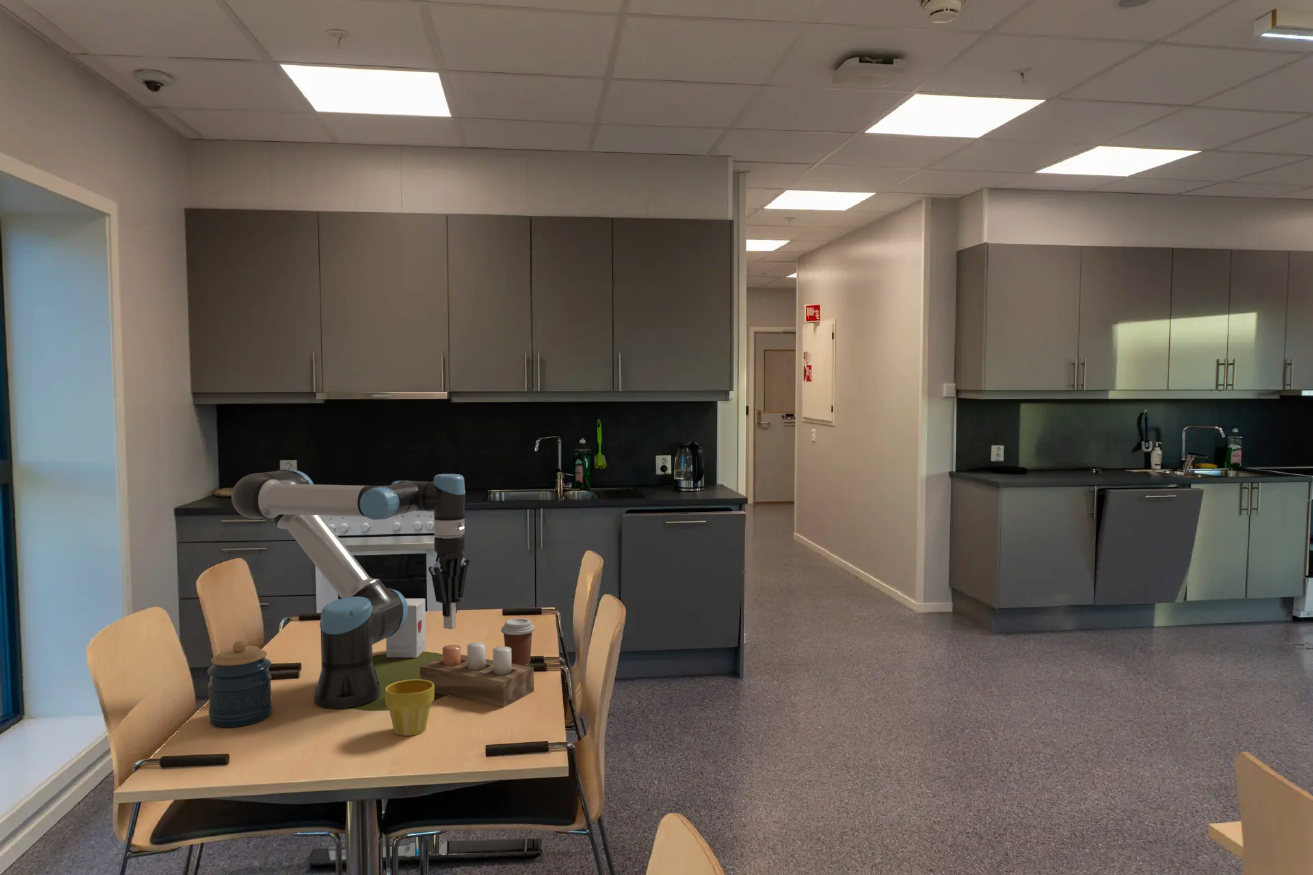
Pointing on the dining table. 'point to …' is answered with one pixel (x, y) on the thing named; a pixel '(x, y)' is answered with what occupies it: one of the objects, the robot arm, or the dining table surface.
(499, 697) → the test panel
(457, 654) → the terracotta plug
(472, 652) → the grey plug mid
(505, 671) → the grey plug far
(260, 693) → the canister
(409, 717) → the plant pot
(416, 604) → the supplement box
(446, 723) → the dining table surface
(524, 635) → the coffee cup
